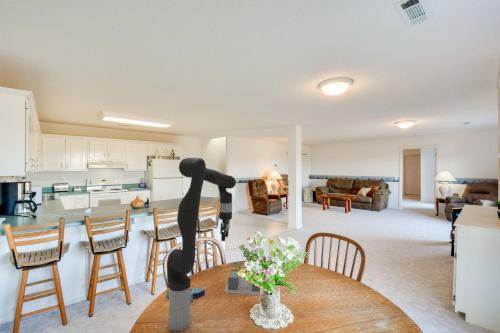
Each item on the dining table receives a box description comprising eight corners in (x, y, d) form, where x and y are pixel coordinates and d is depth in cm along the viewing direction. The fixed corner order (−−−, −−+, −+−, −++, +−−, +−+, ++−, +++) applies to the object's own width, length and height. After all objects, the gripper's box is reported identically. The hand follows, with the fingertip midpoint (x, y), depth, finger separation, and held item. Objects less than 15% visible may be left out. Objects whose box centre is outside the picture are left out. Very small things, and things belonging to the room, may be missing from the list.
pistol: (206, 294, 137) (186, 307, 124) (187, 286, 145) (166, 297, 133) (207, 287, 137) (186, 299, 124) (187, 279, 145) (166, 290, 133)
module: (250, 287, 142) (250, 272, 142) (239, 286, 143) (240, 272, 143) (250, 283, 146) (250, 269, 146) (240, 283, 147) (240, 269, 146)
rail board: (263, 295, 137) (264, 281, 137) (224, 292, 138) (224, 278, 138) (264, 282, 151) (264, 270, 150) (228, 280, 152) (228, 268, 152)
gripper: (229, 213, 135) (228, 243, 135) (234, 209, 149) (233, 235, 149) (216, 212, 136) (215, 242, 136) (221, 208, 150) (221, 235, 150)
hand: (224, 238), depth 142 cm, fingers open, 8 cm apart
